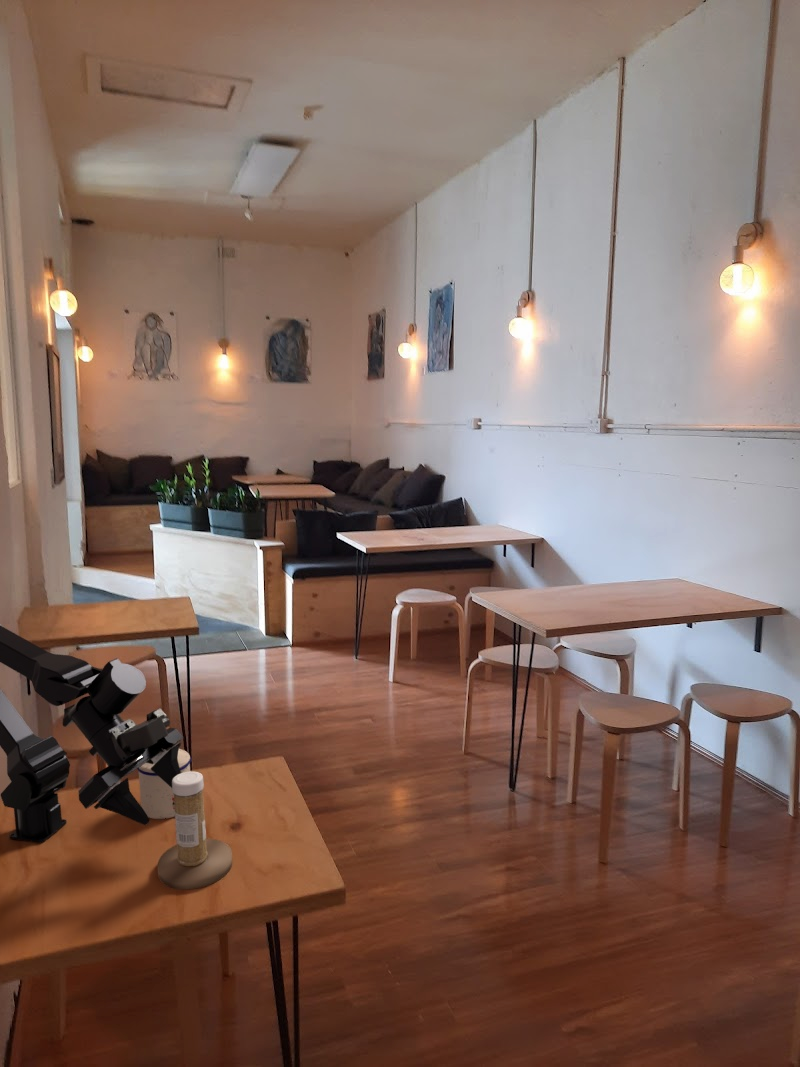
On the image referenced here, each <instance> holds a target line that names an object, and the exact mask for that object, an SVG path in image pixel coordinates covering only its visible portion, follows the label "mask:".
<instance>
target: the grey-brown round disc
mask: <svg viewBox="0 0 800 1067" xmlns="http://www.w3.org/2000/svg"><path fill="white" fill-rule="evenodd" d="M206 849H207V853H208V855H207V858H206V860H205V861H204V862H203V863H200V864H198V865H196V866H183V865H181V864H179V862H178V860H177V858H178V848H177V844H175V845H173V846H171V847H170V848H168V849H167V850H166V851H164V853H162V854H161V856H160V857H159V859H158V862H157V874H158V875H157V876H158V878H159V881H160V882H161V883H162V884H163V885H164V886H167V887H169V888H172V889H176V890H194V889H195V890H196V889H201V888H204V887H207V886H210V885H213V884H215V883H217V882H218V881H220V880H221V879H223V878H224V877H225V876H226V875H227V874H229V872H230V871H231V869H232V867H233V866H232V865H233V854H232V853H233V852H232V849H231V847H230V845H228V844H227V843H226V842H224V841H222V840H219V839H214V838H207V837H206Z"/></svg>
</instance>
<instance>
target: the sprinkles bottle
mask: <svg viewBox="0 0 800 1067" xmlns="http://www.w3.org/2000/svg"><path fill="white" fill-rule="evenodd" d="M204 786H205V785H204V776H203V774H202V773H200V772H198V771H191V770H190V772H184V773H180V774H178V775H176V776H175V777H174V778H173V780H172V791H173V794H174V803H175V817H174V820H175V821H174V823H175V824H174V825H175V836H176V837H175V838H176V840H175V841H176V845H177V848H178V858H177V860H178V862H179V864H181V865H183V866H196V865H198V864H200V863H203V862H204V861H205V860H206V858H207V855H208V853H207V849H206V838H207V832H206V828H207V827H206V819H205V818H206V817H205V810H204V809H205V808H204V804H205V803H204V793H203V791H204Z"/></svg>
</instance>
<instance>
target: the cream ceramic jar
mask: <svg viewBox="0 0 800 1067" xmlns="http://www.w3.org/2000/svg"><path fill="white" fill-rule="evenodd" d="M177 758H178V763H179V767H180V771H181V773H184V772H190V771H191V762H192V757H191V755H190V753H189V752H187V751H186V750H185V749H181V748H179V750H178V757H177ZM154 765H155V764H150V763H145V764H143V765H142V766H140V767H139V768H137V769H136V770H137V771H138V782H139V795H140V796H139V797H140V806H141V807H142V808H143V810H144V811H145V812H146V814H147V816H148V818H149V819H154V820H164V819H165V818H166V819H170V818H175V803H174V794H173V791H172V788H171V787H170V786H169V785H168V784H167V783H166V782H164V781H163V780H162V779H161V778H160V777H159V776H158V775H157V774H155V773H154V772H153V771H152V770H151V769H150V768H152V767H153V766H154ZM166 819H165V820H166Z"/></svg>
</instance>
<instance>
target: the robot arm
mask: <svg viewBox="0 0 800 1067" xmlns="http://www.w3.org/2000/svg"><path fill="white" fill-rule="evenodd" d="M0 663H1V664H2V665H4V666H6V667H8V668H10V669H11V670H13V671H15V672H16V673H18V674H20V675H22V676H23V677H25V678H26V679H28V680H29V681H30V682H31V684H32V687H33V690H34V692H36V693H37V694H38V696H40V697H41V698H43V699H44V700H45V701H46V702H47V703H49V704H50V705H52V706H55V707H60V706H63V705H65V704H67V703H69V702H72V701H74V700H76V699H78V698H80V699H79V700H78V701H77V702H76V704H72V705H70V706H68V707H66V708H64V710H63V712H64V714H63V718H62V722H61V723H62V726H63V727H67V726H70V725H71V724H72V725H73V723H74V724H75V726H76V727H77V728H78V729H79V732H81V733H82V736H84V737H85V738H86V739H87V741H88V742H89V744H90V745H91V748H90V749H89V750H88V753H89V754H90V755H91V756H92V757H94V756H96V755H99V756H100V758H101V759H102V760H103V762H105V764H106V767H105V768H103V769H101V770H100V771H98V772H96V773H95V774H94V775H93V776H92V777H90V779H89V780H88V781H86V783H85V784H84V785H83V786H82V787H81V788H80V789H79V790H78V792H77V793H78V800H79V802H80V804H81V805H82V806H83V807H84V808H85V810H87V809H89V808H90V807H92V806H93V805H94V806H93V808H94V809H95V810H97V809H99V808H101V809H102V810H103V809H104V810H106V811H110V812H112V813H116V814H117V815H120V816H123V817H124V818H127V819H130V820H131V821H134V822H136V823H138V824H140V825H142V826H147V825H148V824H149V823H150V821H151V818H149V817H148V816H147V814H146V812H145V811H144V810H143V808H142V807H141V803H139V802H138V800H137V799H136V798H135V796H134V795H133V793H132V792H131V791H130V790H131V788H130V784H129V777H126V776H128V775H130V774H131V773H133V772H134V771H136V770H138V769H137V768H139V767H140V766H142V765H143V764H145V763H150V764H155V765H154V766H153V767H152V768H150V769H151V770H152V771H153V772H154V773H155V774H157V775H158V776H159V777H160V778H161V779H162V780H163V781H164V782H166V783H167V784H168V785H169V786H170V787H171V788H172V780H173V778H174V777H175V776H176V775H178V774H180V773H181V771H180V767H179V763H178V758H177V757H178V750H179V749H181V747H182V740H183V739H184V736H183V735H182V734H181V732H180V731H179V730H178V729H177V728H176V727H175V728H174V727H169V726H170V725H171V720H170V719H169V717H168V715H167V714H166V713H165V712H164V710H163V709H161V708H157V709H154V710H152V711H150V712H148V713H147V714H146V720H144V721H143V722H142V723H139V724H138V723H137V724H136V723H135V721H134V720H132V719H131V718H129V719H127V720H123V718H122V717H121V715H120V714H122V713H123V712H124V711H125V710H126V709H127V708H128V707H129V706H130V705H131V704H132V703H133V702H134V701H135V700H136V698H138V697H139V696H140V695H141V694H142V692H143V691H144V690H145V689H146V687H147V686H146V685H147V682H146V681H147V680H146V677H145V675H144V673H143V672H142V671H141V669H137V668H136V666H133V665H131V664H129V663H122V661H121V660H120V659H119V658H118V657H116V658H114V659H112V660H109V661H107V662H106V663H105V665H103V667H102V668H97V667H95V666H92V665H91V664H90V663H88V661H86V660H84V659H81V658H79V657H75V656H72V655H69V654H56V653H51V652H49V651H47V650H45V649H43V648H41V647H40V646H38V645H36V644H35V643H33V642H31V641H29V640H27V639H26V638H23V637H22V636H20V635H18V634H17V633H15V632H13V631H12V630H10V629H8V628H6V627H3V625H2V624H1V623H0ZM86 694H87V696H85V695H86ZM0 748H1V749H2V750H3V753H4V754H5V755H6V774H7V777H8V779H9V780H10V783H9V784H8V785H7V786H6V787H5V789H4V790H2V792H1V793H0V797H1V801H2V804H3V805H4V807H6V808H11V809H13V814H14V815H13V816H14V824H15V826H14V827H15V830H14V831H13V832H11V833H10V834H9V836H8V837H9V838H8V839H10V840H18V841H24V842H32V843H43V842H45V841H46V840H48V839H49V838H50V837H52V836H53V834H56V833H57V832H58V831H59V830H60V829H61V828H63V827H64V826H65V825H66V824H67V819H63V818H62V809H61V808H62V806H61V805H62V804H61V803H60V802H59V796H58V795H59V794H58V791H60V790H61V789H62V790H63V788H65V787H66V784H67V780H68V778H69V775H70V767H71V763H70V760H69V758H68V757H67V755H68V752H66V751H65V750H64V749H63V748H62V747H61V746H60V744H59V743H58V740H57V739H56V738H55V737H54V736H52V735H50V736H48V737H46V738H43V737H39V736H37V735H36V734H35V733H34V732H33V730H32V729H31V728H30V726H29V725H28V723H26V721H25V720H24V718H23V717H22V715H20V713H19V711H17V709H16V707H15V706H14V705H13V704H12V702H11V701H10V700H9V698H8V697H7V695H6V693H4V692H3V690H2V688H0ZM125 777H126V778H125ZM124 778H125V779H124ZM122 779H123V780H122Z"/></svg>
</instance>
